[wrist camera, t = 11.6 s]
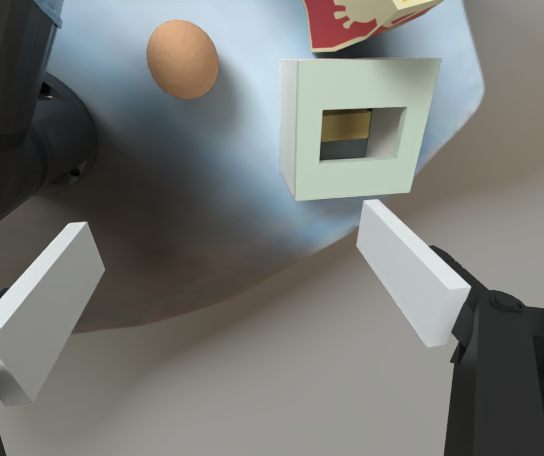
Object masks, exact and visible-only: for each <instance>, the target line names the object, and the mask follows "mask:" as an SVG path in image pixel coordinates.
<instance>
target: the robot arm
mask: <svg viewBox="0 0 544 456" xmlns="http://www.w3.org/2000/svg"><path fill="white" fill-rule="evenodd" d="M63 1H64V0H0V220H1V219H3V218H4V217H5V216H7V215H8V214H9V213H11V212H12V211H13V210H14V209H16V208H17V207H18V206H20V205H21V204H22V203H24V202H25V201H26V200H27V199H29V198H30V197H32V196H38V195H43V194H49V193H54V192H58V191H61V190H64V189H66V188H68V187H70V186H72V185H73V184H75V183H76V182H77V181H79V180H80V179H81V178H82V177H83V176H84V175H85V174H86V173H87V172H88V171H89V170H90V168H91V166H92V165H93V163H94V160H95V157H96V152H97V137H96V132H95V128H94V125H93V122H92V120H91V117H90V115H89V113H88V112H87V110H86V108H85V107H84V105H83V104H82V103H81V101H80V100H79V99H78V97H77V96H76V95H75V94H74V93H73V92H72V91H71V90H70V89H69V88H68V87H67V86H66V85H65V84H63V83H62V82H61V81H60V80H58V79H57V78H55V77H54V76H52V75H51V74H49V73H47V72H46V68H47V65H48V61H49V58H50V54H51V51H52V47H53V43H54V40H55V36H56V33H57V29H58V28H60V29H61V27H62V20H61V18H60V15H61V10H62V6H63ZM356 246H357V247H358V249H359V250H360V252H361V253H362V254H363V256H364V257H365V259H366V260H367V262H368V263H369V265H370V266H371V267H372V269H373V270H374V272H375V273H376V275H377V276H378V278H379V279H380V280H381V282H382V283H383V285H384V286H385V287H386V289H387V290H388V292H389V293H390V295H391V296H392V297H393V299H394V301H395V302H396V303H397V305H398V306H399V308H400V309H401V311H402V312H403V314H404V315H405V316H406V318H407V319H408V321H409V322H410V323H411V325H412V326H413V328H414V329H415V331H416V332H417V334H418V335H419V336H420V338H421V339H422V341H423V342H424V344H425V345H426V347H434V346H441V345H447V343H448V341H449V338H450V336H451V334H453V335H454V336H455V337H456V339H457V340H458V341H459V343H458V345H457V347H456V349H455V352H454V354H453V356H452V358H451V360H450V362H451V363H454V370H453V379H452V389H451V396H450V406H449V415H448V423H447V432H446V440H445V450H444V456H544V308H537V307H528V306H525V305H524V304H523V303H522V302H521V301H520V300H518V299H517V298H515V297H513V296H512V295H509V294H507V293H504V292H501V291H496V290H488V289H487V288H486V287H485V286H484V285H483V284H481V283H480V282H479V281H478V280H477V279H476V278H475V277H474V276H472V275H471V274H470V273H469V272H468V271H467V270H466V269H464V268H462V266H461V265H460V264H459V263H458V262H456V261H455V260H454V259H453V258H452V257H451V256H450V255H449V254H448V253H446V252H445V251H443V250H441V249H439V248H437V247H435V246H427V245H426V244H425V243H424V242H423V241H422V240H421V239H420V238H418V236H416V235H415V234H414V233H413V232H412V231H411V230H410V229H409V228H408V227H407V226H406V225H405V224H404V223H403V222H402V221H401V220H399V219H398V218H397V217H396V216H395V215H394V214H393V213H392V212H391V211H390V210H389V209H388V208H387V207H386V206H385V205H383V204H382V203H381V202H380V201H379V200H378V199H375V200H363V207H362V213H361V219H360V226H359V233H358V239H357V245H356ZM104 271H105V268H104V265H103V263H102V260H101V257H100V255H99V252H98V249H97V247H96V244H95V242H94V239H93V236H92V234H91V231H90V228H89V226H88V223H87V222H77V223H69V224H68V225H67V226H66V227H65V228H64V229H63V230H62V231H61V232H60V234H59V235H58V236H57V237H56V238H55V239H54V240H53V241H52V242H51V243H50V245H49V246H48V247H47V248H46V249H45V250H44V251H43V252H42V253H41V255H40V256H39V257H38V258H37V259H36V260H35V261H34V262H33V263H32V264H31V266H30V267H29V268H28V269H27V270H26V271H25V272H24V273H23V274H22V275H21V277H20V278H19V279H18V280H17V281H16V282H15V283H14V284H13V285H12V287H11V288H5V289H3V290H2V291H0V400H1V401H2V402H3V404H4V405H5V406H13V405H21V404H28V403H33V402H34V400H35V398H36V396H37V394H38V393H39V391H40V389H41V387H42V385H43V383H44V381H45V380H46V378H47V376H48V374H49V372H50V370H51V369H52V367H53V365H54V363H55V361H56V359H57V358H58V356H59V354H60V352H61V350H62V348H63V347H64V345H65V343H66V341H67V339H68V337H69V336H70V334H71V332H72V330H73V328H74V326H75V324H76V323H77V321H78V319H79V317H80V315H81V313H82V312H83V310H84V308H85V306H86V304H87V302H88V301H89V299H90V297H91V295H92V293H93V291H94V290H95V288H96V286H97V284H98V282H99V280H100V278H101V277H102V275H103V273H104ZM0 456H6V453H5V450H4V447H3V443H2V440H1V437H0Z"/></svg>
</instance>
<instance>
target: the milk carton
mask: <svg viewBox="0 0 544 456" xmlns="http://www.w3.org/2000/svg"><path fill="white" fill-rule="evenodd" d="M302 1H303V4H304V7H305V9H306V15H307V23H308V31H309V39H310V47H311V52H333V51H337V50H339V49H342V48H344V47H347V46H350V45H352V44H355V43H357V42H360V41H362V40H365V39H367V38H370V37H372V36H375V35H378V34H380V33H383V32H386V31H388V30H391V29H394V28H396V27H398V26H401V25H403V24H405V23H407V22H409V21H411V20H413V19H415V18H418V17H420V16H422V15H424V14H425V13H427V12H428V11H430V10H431V9H432V8H434V7H435V6H437V5H438V4H439V3H441V2H442V1H444V0H302Z"/></svg>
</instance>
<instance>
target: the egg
mask: <svg viewBox="0 0 544 456" xmlns="http://www.w3.org/2000/svg"><path fill="white" fill-rule="evenodd" d="M146 53H147V63H148V67H149V70H150V72H151V74H152V77H153V78H154V80H155V81H156V83H157V84H158V85H159V86H160V87H161V88H162V89H163V90H164V91H165V92H167V93H169V94H170V95H172V96H174V97H177V98H180V99H194V98H198V97H200V96H202V95H204V94H205V93H207V92H208V91H209V90H210V89H211V88H212V86H213V85H214V83H215V81H216V78H217V76H218V70H219V61H218V54H217V51H216V48H215V46H214V44H213V42H212V40H211V39H210V38H209V36H208V35H207V33H205V32H204V31H203V30H202V29H201V28H200V27H198V26H196V25H195V24H193V23H190V22H188V21H183V20H173V21H167V22H165V23H163V24H162V25H160V26H159V27H158V28H156V30H155V31H154V32H153V34H152V35H151V37H150V39H149V42H148V46H147V52H146Z"/></svg>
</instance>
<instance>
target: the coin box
mask: <svg viewBox="0 0 544 456" xmlns="http://www.w3.org/2000/svg"><path fill="white" fill-rule="evenodd" d="M441 59H442V58H402V57H372V58H320V59H280V171H281V173H282V175H283V177H284V179H285V181H286V183H287V185H288V187H289V189H290V191H291V193H292V195H293V197H294V199H295V201H303V200H316V199H330V198H343V197H356V196H369V195H383V194H396V193H409V192H410V189H411V185H412V181H413V177H414V172H415V168H416V164H417V160H418V156H419V151H420V147H421V143H422V139H423V135H424V130H425V126H426V122H427V118H428V114H429V109H430V105H431V101H432V97H433V93H434V89H435V84H436V80H437V76H438V72H439V68H440V63H441ZM358 108H373V110H372V116H371V123H370V130H369V137H368V144H367V150H366V157H365V158H349V159H332V160H319V156H320V141H321V127H322V112H323V110H333V109H358Z"/></svg>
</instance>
